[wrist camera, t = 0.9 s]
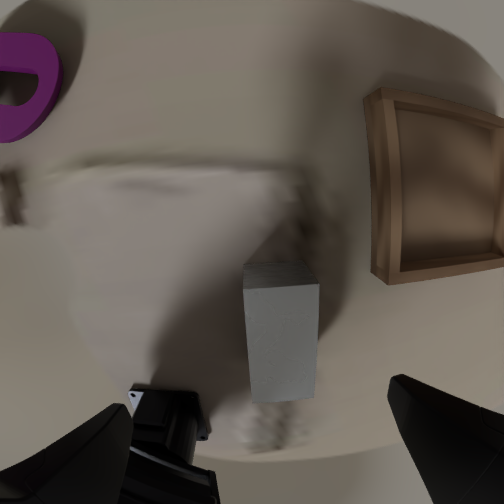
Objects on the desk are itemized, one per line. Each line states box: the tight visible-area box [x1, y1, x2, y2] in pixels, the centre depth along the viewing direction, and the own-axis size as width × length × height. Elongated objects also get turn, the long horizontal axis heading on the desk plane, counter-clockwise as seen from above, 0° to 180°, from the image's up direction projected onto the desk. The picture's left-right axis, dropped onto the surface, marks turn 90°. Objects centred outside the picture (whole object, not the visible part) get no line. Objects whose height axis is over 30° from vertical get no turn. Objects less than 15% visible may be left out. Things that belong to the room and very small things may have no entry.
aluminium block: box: [243, 261, 319, 403], centre depth 18 cm, size 8×4×5 cm, turn 3°
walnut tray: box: [363, 87, 504, 285], centre depth 17 cm, size 13×14×3 cm
